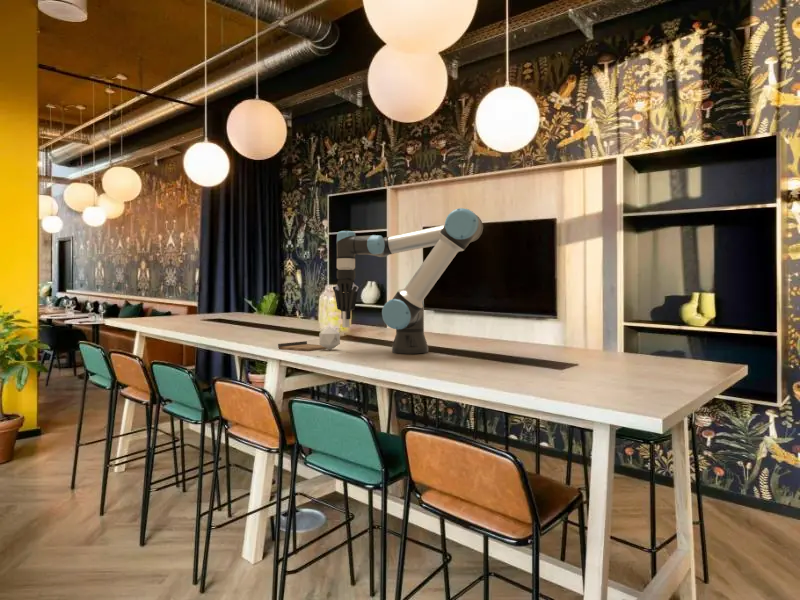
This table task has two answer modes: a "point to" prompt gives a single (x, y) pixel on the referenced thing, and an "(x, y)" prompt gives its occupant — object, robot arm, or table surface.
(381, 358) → the table surface
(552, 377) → the table surface
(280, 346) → the board
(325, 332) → the die
